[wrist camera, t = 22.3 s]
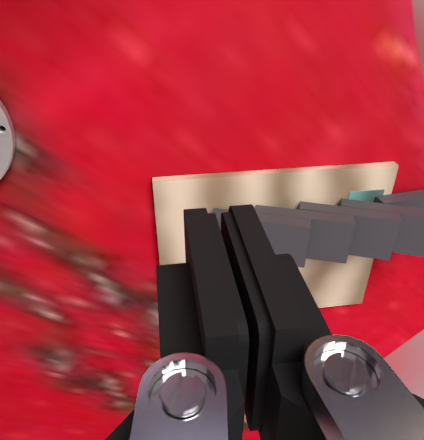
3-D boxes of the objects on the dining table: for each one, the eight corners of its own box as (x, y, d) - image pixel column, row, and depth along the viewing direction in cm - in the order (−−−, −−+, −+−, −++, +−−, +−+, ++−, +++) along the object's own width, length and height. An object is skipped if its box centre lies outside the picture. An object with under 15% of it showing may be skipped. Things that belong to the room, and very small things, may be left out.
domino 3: (294, 247, 45) (389, 260, 43) (299, 208, 42) (401, 221, 40) (295, 239, 46) (387, 251, 44) (300, 201, 44) (398, 212, 42)
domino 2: (251, 251, 44) (345, 263, 43) (254, 212, 42) (355, 223, 40) (253, 243, 46) (345, 254, 44) (256, 204, 43) (353, 215, 41)
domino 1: (210, 254, 44) (304, 267, 42) (210, 215, 41) (310, 227, 39) (213, 246, 45) (304, 258, 43) (213, 207, 42) (311, 219, 41)
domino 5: (333, 244, 45) (429, 257, 43) (341, 205, 43) (444, 218, 41) (333, 236, 47) (426, 249, 45) (341, 198, 44) (440, 210, 42)
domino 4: (374, 241, 46) (448, 228, 48) (384, 203, 43) (462, 191, 45) (366, 233, 47) (438, 221, 49) (375, 196, 44) (451, 185, 47)
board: (164, 318, 51) (165, 325, 51) (152, 177, 41) (152, 182, 40) (358, 298, 55) (362, 303, 54) (394, 161, 44) (399, 165, 43)
